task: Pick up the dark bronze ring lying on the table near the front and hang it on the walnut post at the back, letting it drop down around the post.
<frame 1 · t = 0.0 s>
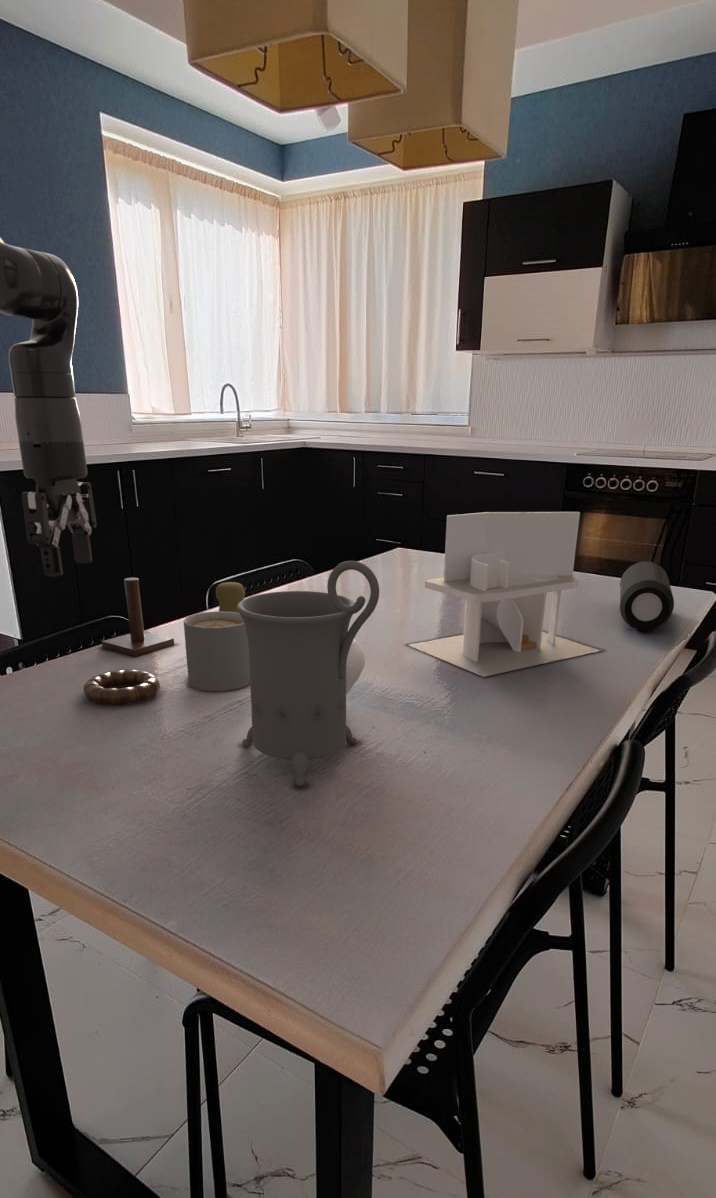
hand: (69, 569, 101), 20 cm above the table, tool pointing down, fingers open, 8 cm apart
coffee mug: (226, 678, 124), on the table
post: (138, 646, 139), on the table
cork: (233, 643, 142), on the table
portable speaker: (641, 619, 161), on the table
spinning top: (338, 707, 112), on the table
ring: (121, 687, 116), point 1 cm above the table
architectural model: (503, 648, 140), on the table
mug: (306, 760, 96), on the table
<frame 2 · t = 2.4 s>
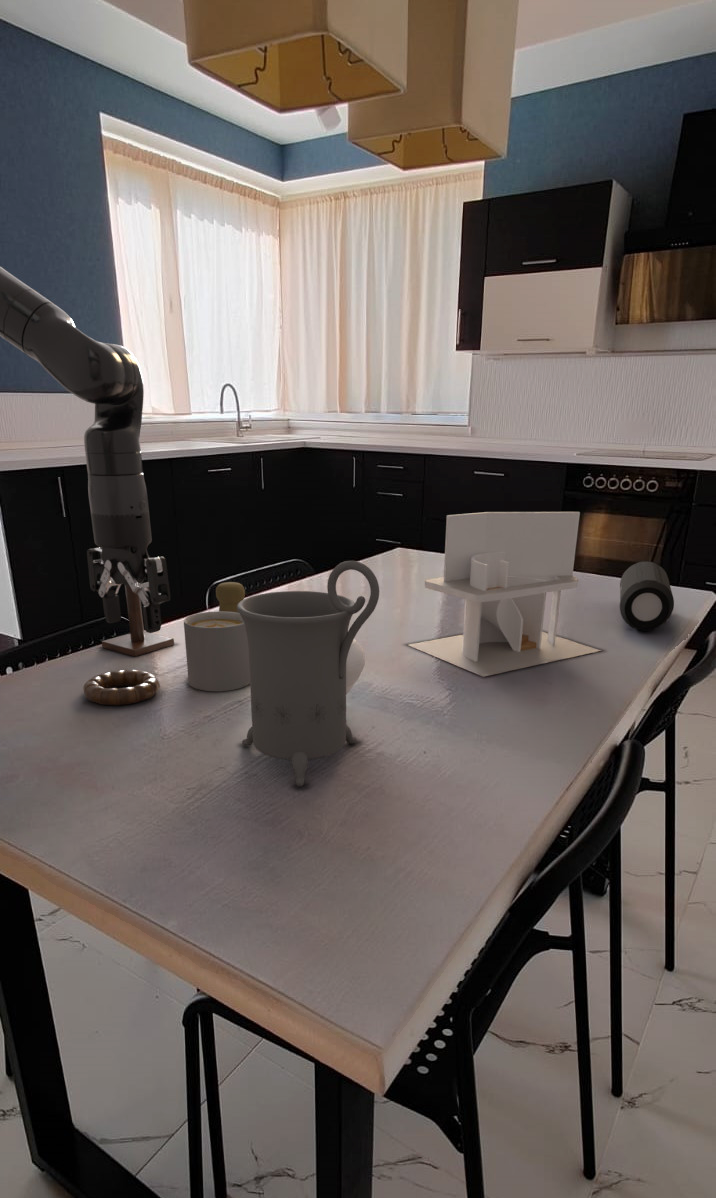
hand: (133, 626, 109), 11 cm above the table, tool pointing down, fingers open, 8 cm apart
nothing on the table moved.
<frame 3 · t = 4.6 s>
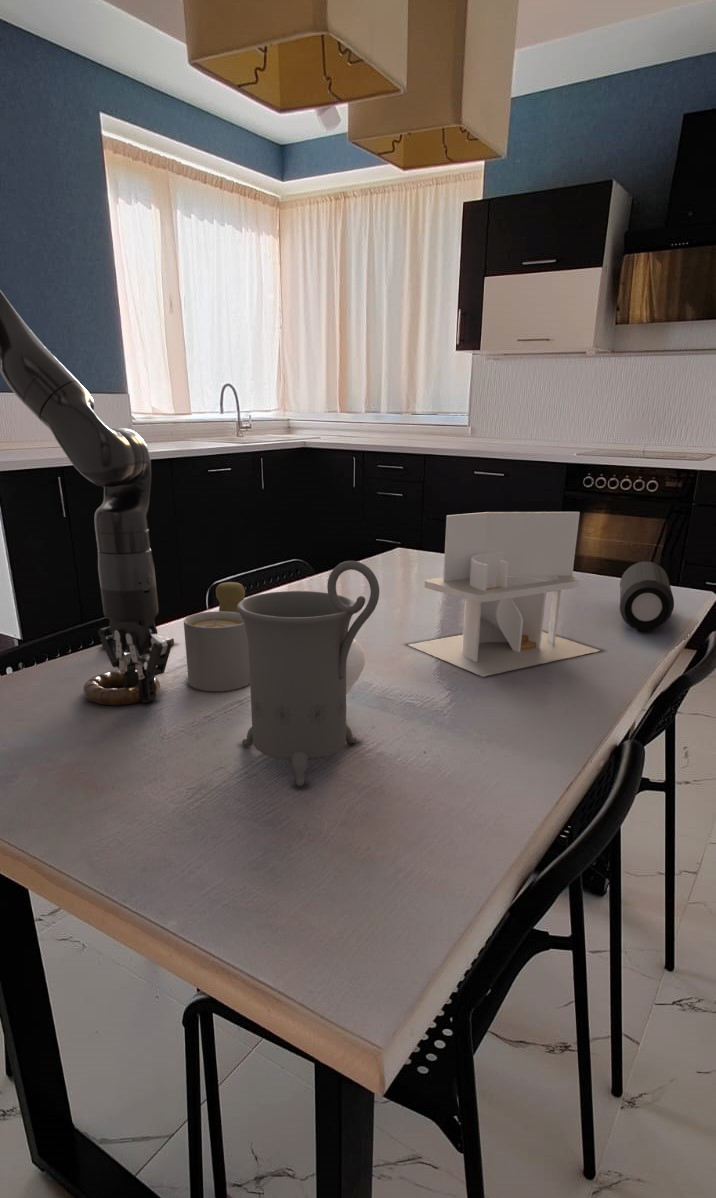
hand: (140, 698, 114), 0 cm above the table, tool pointing down, fingers closed on ring, 2 cm apart
ring: (121, 687, 116), point 1 cm above the table, touching gripper
everything else where it was.
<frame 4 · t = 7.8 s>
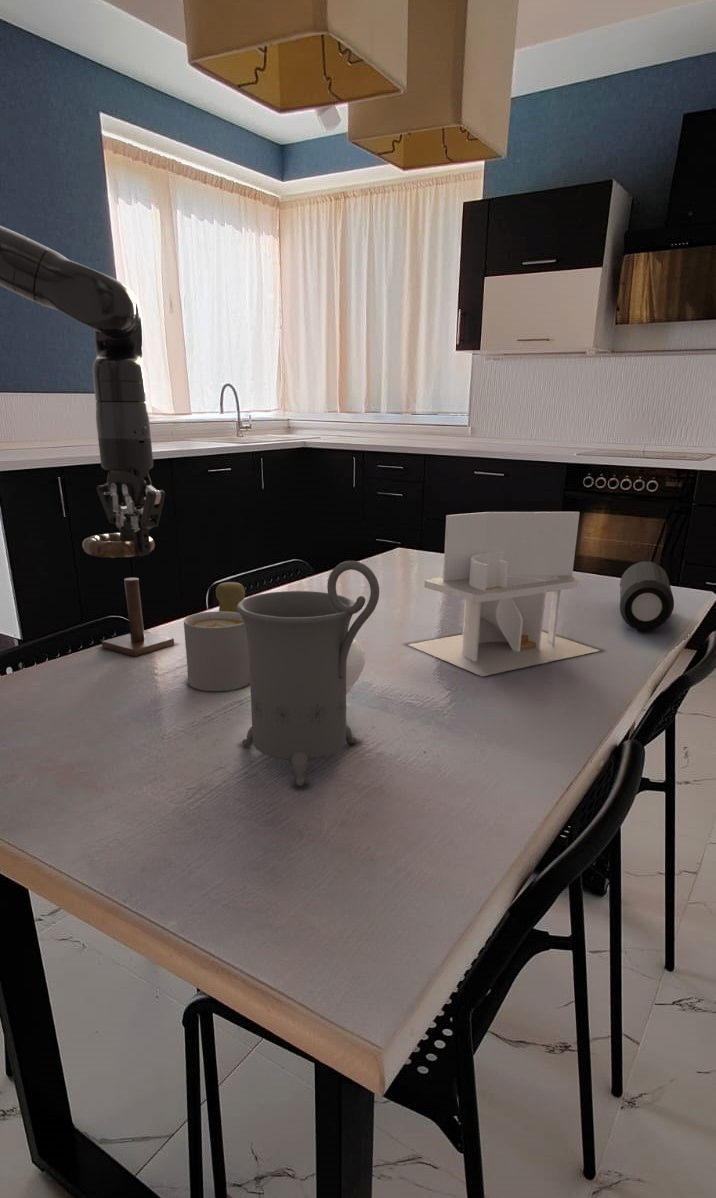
hand: (136, 553, 120), 19 cm above the table, tool pointing down, fingers closed on ring, 2 cm apart
ring: (118, 544, 122), point 20 cm above the table, touching gripper
everything else where it was.
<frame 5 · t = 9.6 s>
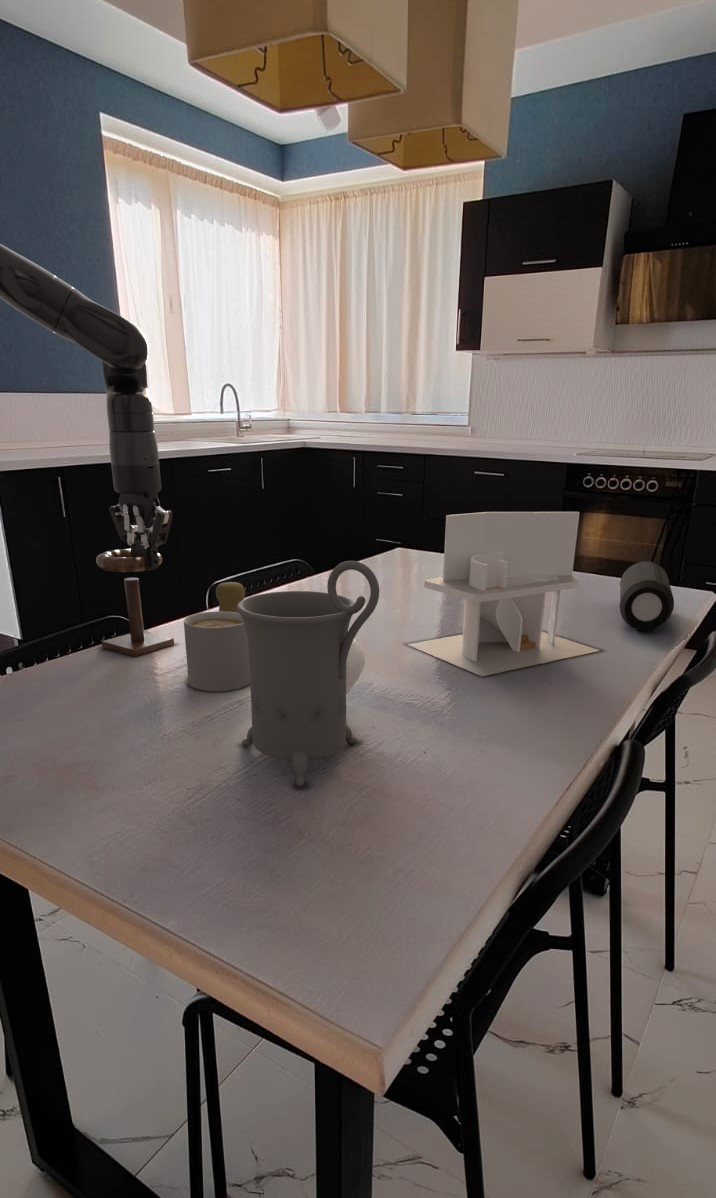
hand: (145, 568, 131), 15 cm above the table, tool pointing down, fingers closed on ring, 2 cm apart
ring: (129, 560, 133), point 15 cm above the table, touching gripper
everything else where it was.
when the fingers open (11 cm above the table, at t = 11.1 s): ring drops 3 cm, point 8 cm above the table.
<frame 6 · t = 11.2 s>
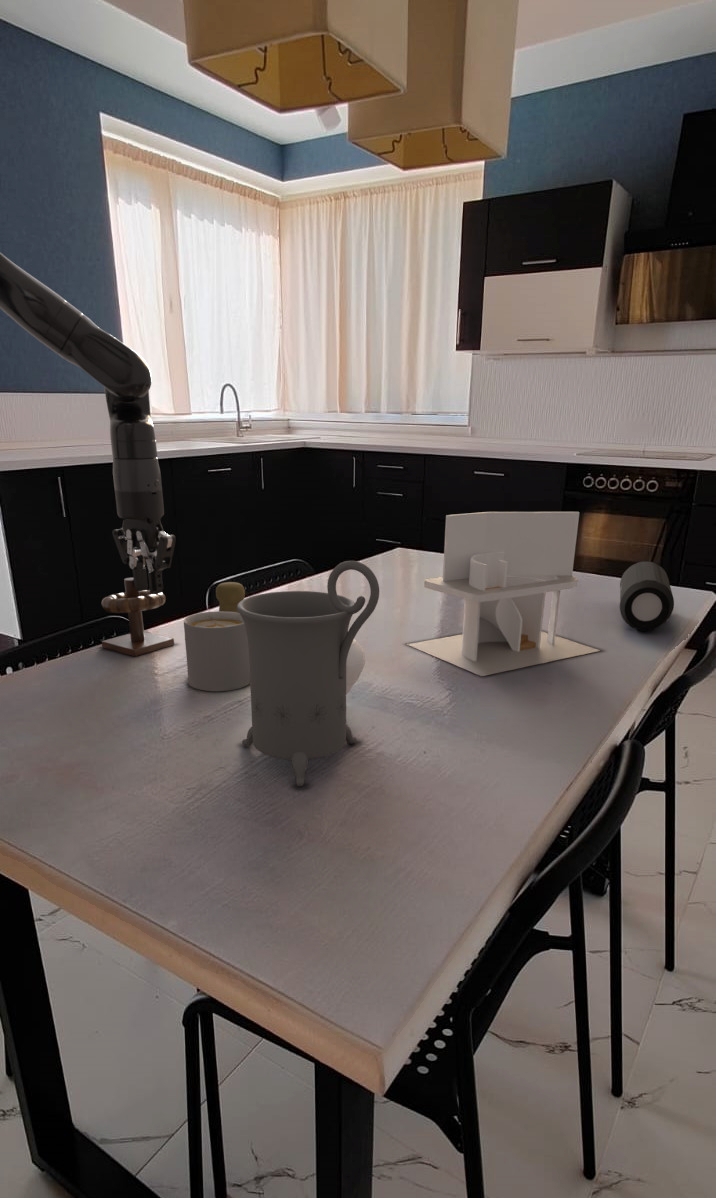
hand: (149, 591, 133), 11 cm above the table, tool pointing down, fingers open, 3 cm apart
ring: (133, 601, 136), point 8 cm above the table, tilted 6°
everything else where it was.
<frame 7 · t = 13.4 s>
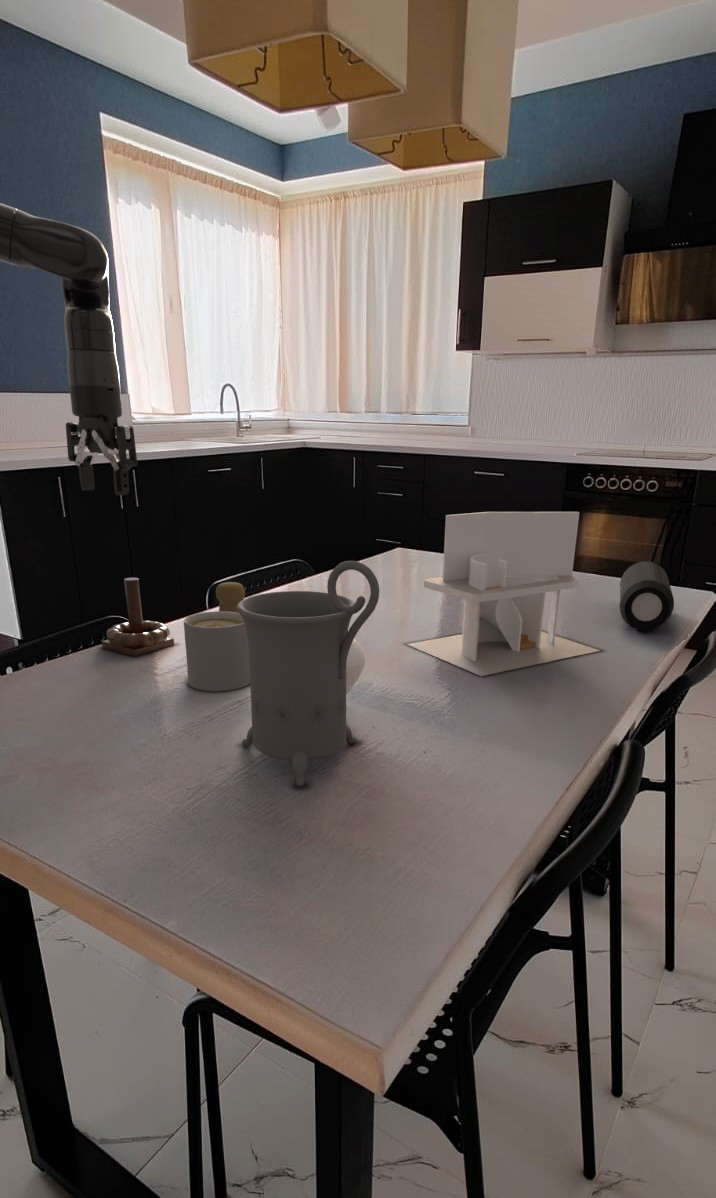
hand: (105, 492, 126), 27 cm above the table, tool pointing down, fingers open, 8 cm apart
ring: (138, 633, 138), point 2 cm above the table, touching post
everything else where it was.
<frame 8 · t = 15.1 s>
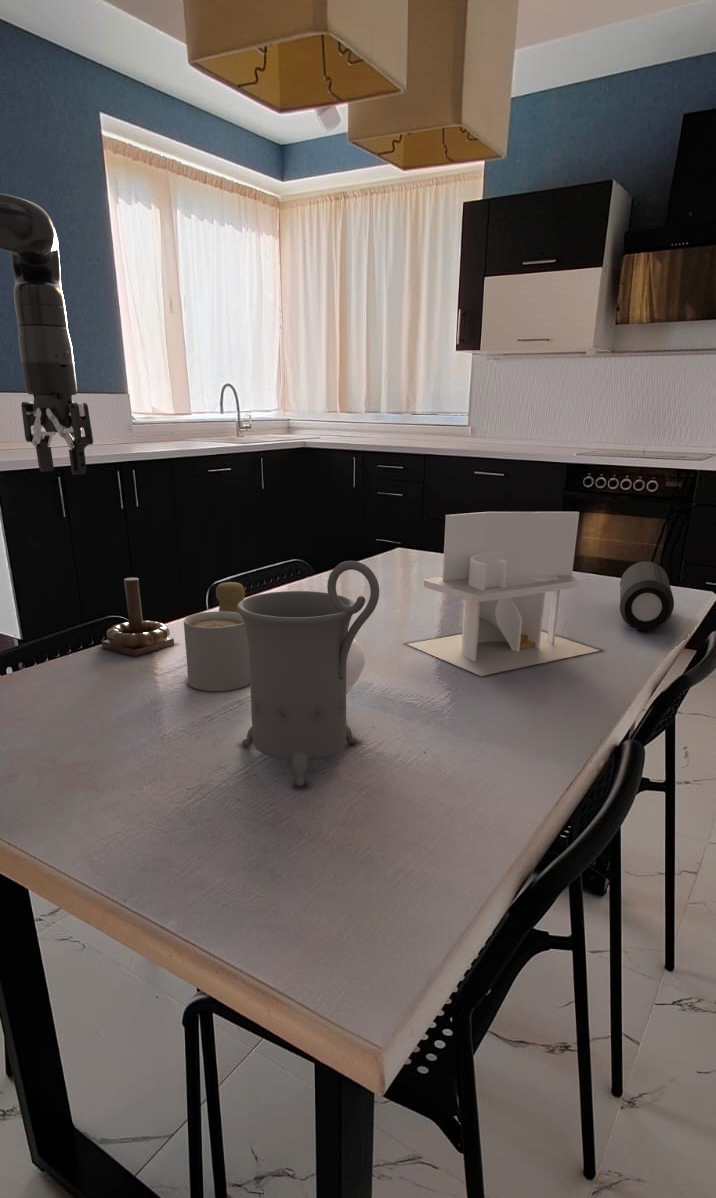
hand: (62, 472, 123), 30 cm above the table, tool pointing down, fingers open, 8 cm apart
nothing on the table moved.
at the end: ring 0.4 cm off-centre on the post, point 2.4 cm above the post's base; the gripper is holding nothing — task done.
